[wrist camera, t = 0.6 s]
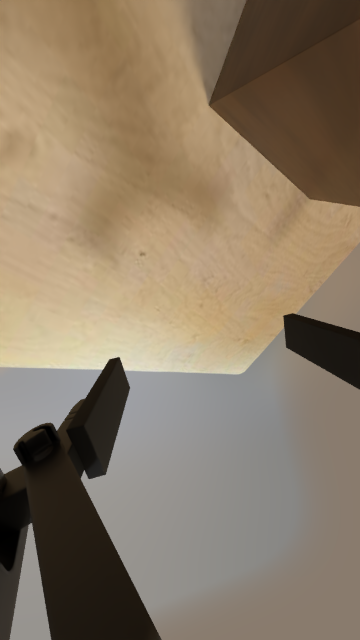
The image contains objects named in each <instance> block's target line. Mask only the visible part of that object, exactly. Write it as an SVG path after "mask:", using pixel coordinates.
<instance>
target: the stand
mask: <svg viewBox="0 0 360 640" xmlns="http://www.w3.org/2000/svg"><path fill="white" fill-rule="evenodd" d="M209 106H210V107H211V108H212V109H213V110H214V111H216V112H217V113H218V114H219V115H220V116H221V117H222V118H223V119H224V120H225V121H226V122H227V123H229V124H230V125H231V126H232V127H233V128H234V129H235V130H236V131H237V132H238V133H239V134H240V135H242V136H243V137H244V138H245V139H246V140H247V141H248V142H249V143H250V144H251V145H252V146H253V147H254V148H256V149H257V150H258V151H259V152H260V153H261V154H262V155H263V156H264V157H265V158H266V159H267V160H269V161H270V162H271V163H272V164H273V165H274V166H275V167H276V168H277V169H278V170H279V171H280V172H282V173H283V174H284V175H285V176H286V177H287V178H288V179H289V180H290V181H291V182H292V183H293V184H295V185H296V186H297V187H298V188H299V189H300V190H301V191H302V192H303V193H304V194H305V195H306V196H308V197H309V198H310V199H313V200H319V201H326V202H332V203H339V204H345V205H352V206H358V207H360V0H247V2H246V4H245V7H244V10H243V13H242V15H241V18H240V21H239V24H238V26H237V29H236V32H235V35H234V37H233V40H232V43H231V46H230V48H229V51H228V54H227V57H226V59H225V62H224V65H223V68H222V71H221V73H220V76H219V79H218V82H217V84H216V87H215V90H214V93H213V95H212V98H211V101H210V104H209Z"/></svg>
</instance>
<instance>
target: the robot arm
mask: <svg viewBox="0 0 360 640" xmlns="http://www.w3.org/2000/svg"><path fill="white" fill-rule="evenodd" d="M283 317H284V328H285V339H286V348H288V349H290V350H292V351H293V352H295V353H297V354H299V355H300V356H302V357H304V358H306V359H307V360H309V361H311V362H313V363H314V364H316V365H318V366H320V367H321V368H323V369H325V370H327V371H328V372H330V373H332V374H334V375H335V376H337V377H339V378H341V379H342V380H344V381H346V382H348V383H349V384H351V385H353V386H354V387H356V388H358V389H360V333H359V332H356V331H353V330H349V329H346V328H342V327H339V326H335V325H332V324H328V323H325V322H321V321H318V320H314V319H311V318H307V317H304V316H300V315H297V314H293V313H292V314H288V315H284V316H283ZM129 389H130V386H129V383H128V381H127V378H126V375H125V372H124V369H123V366H122V363H121V360H120V357H117V358H113V359H110V360H109V361H108V363H107V364H106V366H105V368H104V369H103V371H102V373H101V374H100V376H99V377H98V379H97V381H96V382H95V384H94V385H93V387H92V389H91V390H90V392H89V393H88V395H87V397H86V398H85V399H82V400H80V401H79V402H78V403H77V404H76V405H75V406H74V407H73V408H72V409H71V411H70V412H69V415H67V417H66V418H65V421H63V423H62V424H61V426H60V427H59V429H58V430H57V431H56V429H55V427H54V425H53V424H52V423H45V424H41V425H39V426H37V427H35V428H33V429H31V430H30V431H29V432H27V433H26V434H24V435H23V436H22V437H21V438H20V439H19V440H18V441H17V442H16V444H15V445H14V448H13V450H14V452H15V454H16V455H17V457H18V459H19V460H20V462H21V464H22V466H20V467H18V468H16V469H14V470H12V471H10V472H8V473H6V474H3V472H2V470H1V469H0V640H9V639H10V633H11V627H12V621H13V615H14V608H15V603H16V597H17V591H18V585H19V579H20V573H21V567H22V561H23V555H24V549H25V543H26V537H27V531H28V525H29V524H30V523H32V525H33V531H34V537H35V543H36V549H37V555H38V561H39V567H40V573H41V579H42V586H43V592H44V598H45V604H46V609H47V616H48V622H49V628H50V634H51V640H161V638H160V636H159V634H158V632H157V630H156V628H155V626H154V624H153V622H152V620H151V618H150V616H149V614H148V612H147V610H146V608H145V606H144V604H143V602H142V600H141V598H140V596H139V594H138V592H137V590H136V588H135V586H134V584H133V582H132V581H131V578H130V576H129V574H128V572H127V570H126V568H125V567H124V565H123V562H122V560H121V558H120V556H119V555H118V552H117V550H116V549H115V546H114V545H113V542H112V541H111V539H110V537H109V535H108V533H107V531H106V529H105V527H104V525H103V523H102V521H101V519H100V517H99V515H98V513H97V511H96V509H95V507H94V505H93V503H92V501H91V499H90V497H89V495H88V493H87V491H86V489H85V487H84V485H83V483H82V481H81V476H82V474H83V471H84V470H85V472H86V474H87V476H88V478H89V479H92V478H95V477H99V476H102V475H106V472H107V468H108V465H109V461H110V458H111V454H112V450H113V447H114V443H115V440H116V436H117V433H118V429H119V425H120V422H121V418H122V415H123V411H124V407H125V403H126V400H127V397H128V393H129Z"/></svg>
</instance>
